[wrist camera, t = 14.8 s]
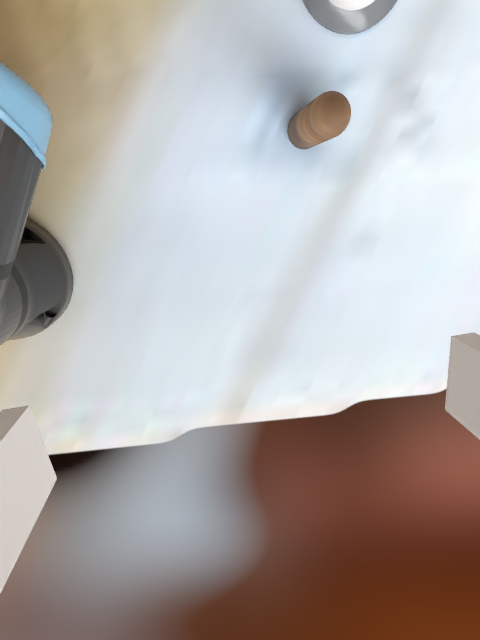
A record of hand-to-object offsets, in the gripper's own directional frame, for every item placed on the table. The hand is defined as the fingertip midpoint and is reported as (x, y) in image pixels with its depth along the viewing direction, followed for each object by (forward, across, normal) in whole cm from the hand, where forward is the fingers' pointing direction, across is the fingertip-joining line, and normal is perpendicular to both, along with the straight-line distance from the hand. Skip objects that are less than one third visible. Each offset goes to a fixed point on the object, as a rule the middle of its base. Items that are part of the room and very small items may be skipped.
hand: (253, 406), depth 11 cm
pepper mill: (+37, +13, +12) cm, 41 cm away
